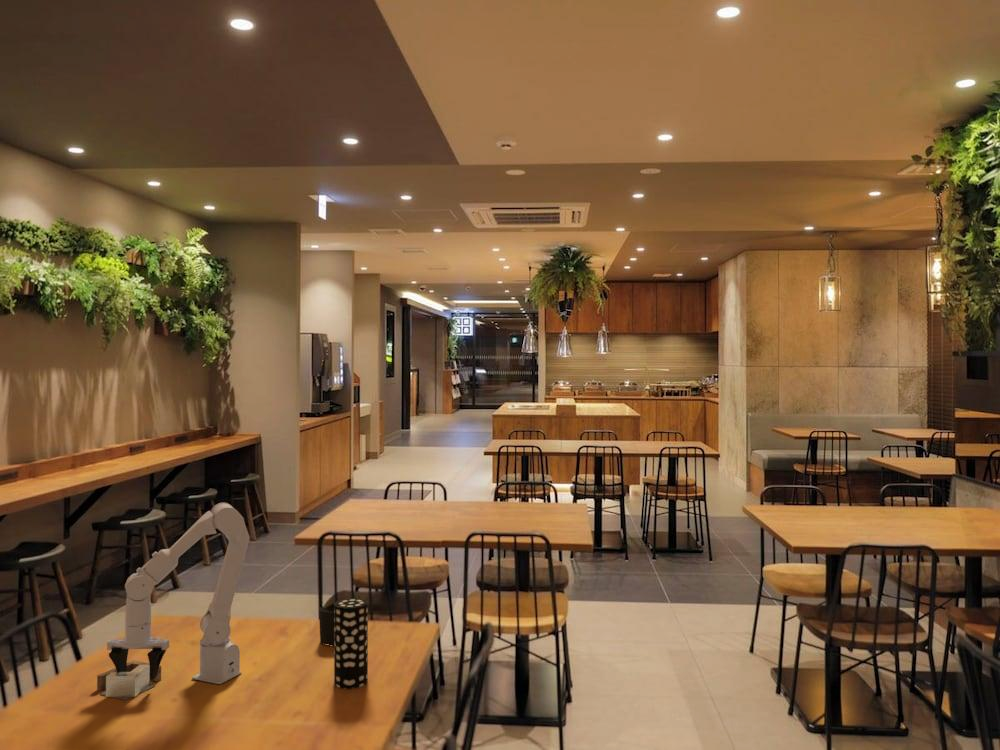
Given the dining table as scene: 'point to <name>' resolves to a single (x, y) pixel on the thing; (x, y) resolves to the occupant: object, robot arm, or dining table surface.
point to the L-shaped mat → (130, 697)
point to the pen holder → (327, 624)
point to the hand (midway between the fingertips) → (138, 678)
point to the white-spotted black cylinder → (350, 643)
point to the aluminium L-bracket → (127, 682)
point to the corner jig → (130, 666)
